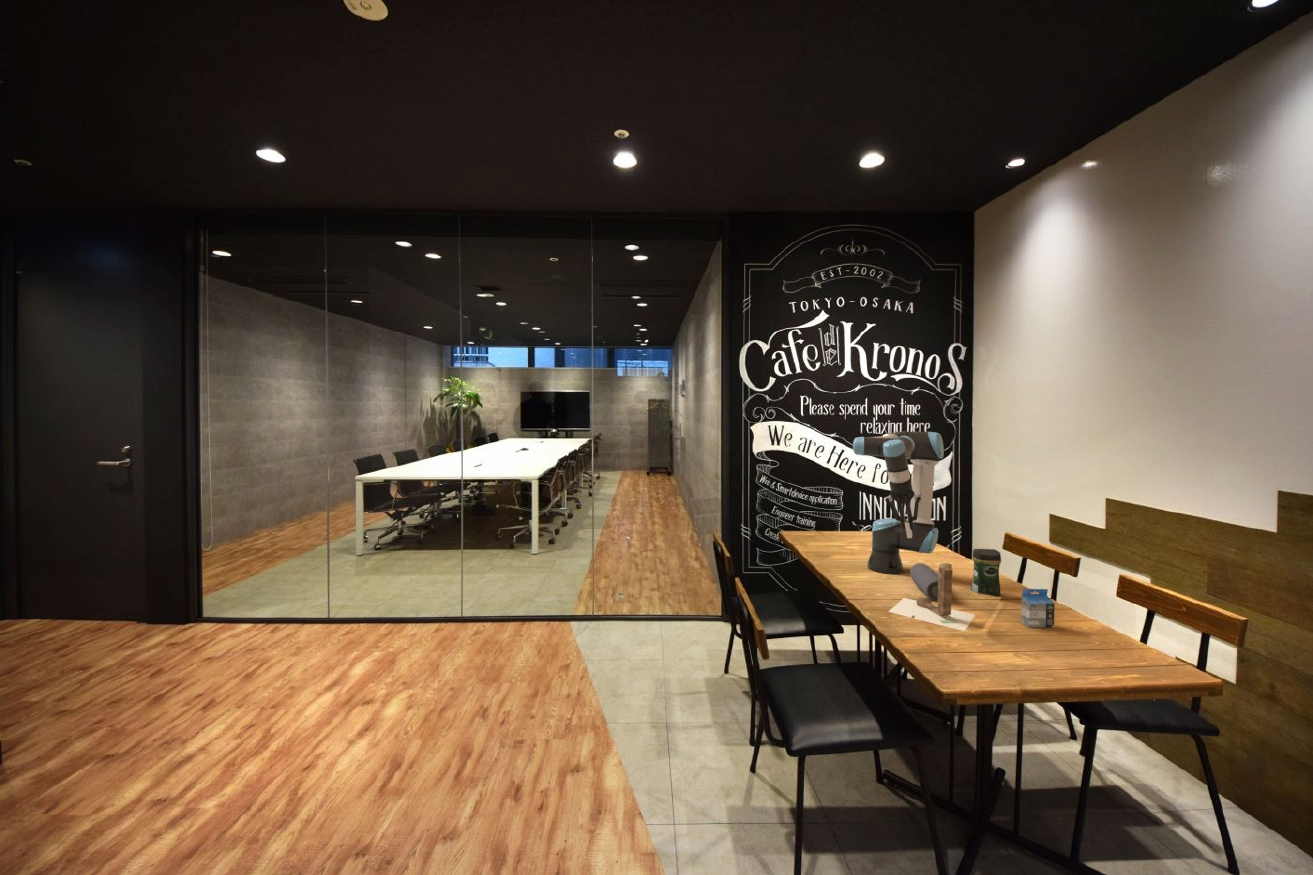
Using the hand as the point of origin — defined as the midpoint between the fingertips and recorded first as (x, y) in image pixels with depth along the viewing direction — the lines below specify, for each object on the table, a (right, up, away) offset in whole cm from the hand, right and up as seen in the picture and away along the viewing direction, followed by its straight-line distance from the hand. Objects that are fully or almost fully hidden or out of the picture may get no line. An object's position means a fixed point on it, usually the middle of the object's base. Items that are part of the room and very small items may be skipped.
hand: (909, 536), depth 201 cm
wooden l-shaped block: (+1, -24, -15) cm, 28 cm away
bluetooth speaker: (+10, -25, +6) cm, 28 cm away
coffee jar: (+33, -25, +6) cm, 42 cm away
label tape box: (+33, -26, -23) cm, 48 cm away
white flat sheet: (0, -26, -17) cm, 31 cm away
